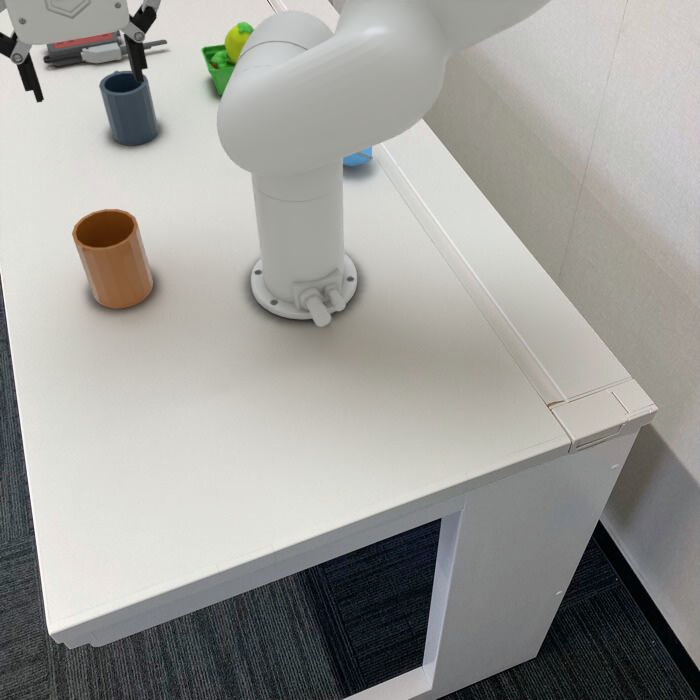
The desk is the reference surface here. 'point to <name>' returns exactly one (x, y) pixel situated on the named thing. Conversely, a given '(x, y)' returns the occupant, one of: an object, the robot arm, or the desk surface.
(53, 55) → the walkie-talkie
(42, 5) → the robot arm
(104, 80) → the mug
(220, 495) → the desk surface
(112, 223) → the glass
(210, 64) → the fruit basket
